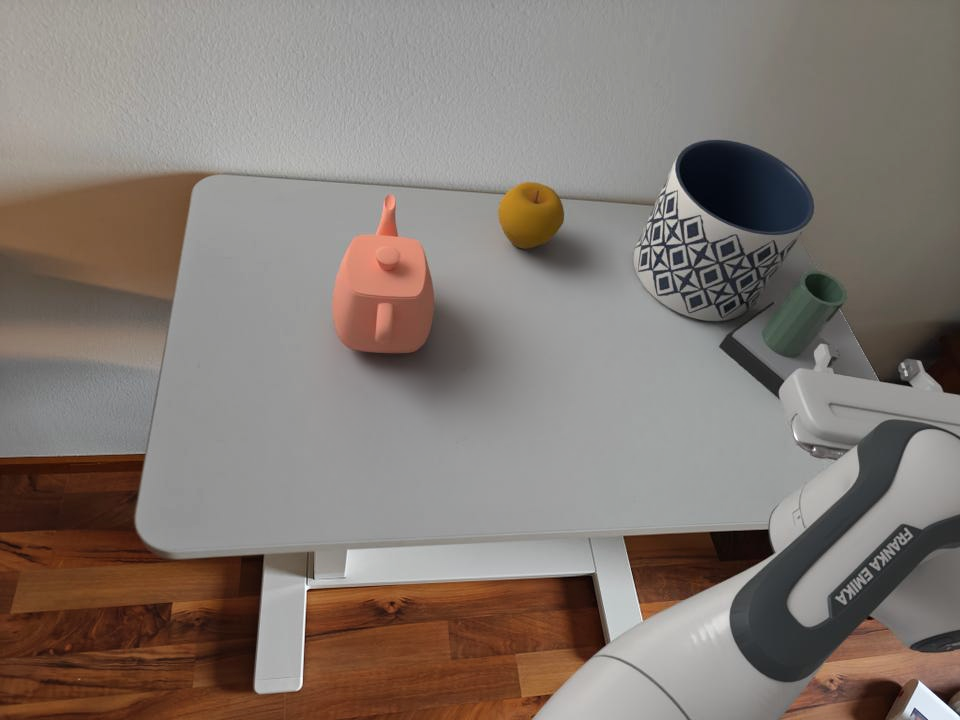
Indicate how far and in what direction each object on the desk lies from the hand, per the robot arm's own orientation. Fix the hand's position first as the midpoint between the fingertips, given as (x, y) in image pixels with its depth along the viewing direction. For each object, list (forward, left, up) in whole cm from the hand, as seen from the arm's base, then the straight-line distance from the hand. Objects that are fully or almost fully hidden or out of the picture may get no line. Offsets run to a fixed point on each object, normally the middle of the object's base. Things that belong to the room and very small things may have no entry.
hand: (866, 355), depth 77 cm
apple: (+43, +6, -16) cm, 46 cm away
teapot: (+42, +31, -16) cm, 54 cm away
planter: (+25, -11, -16) cm, 31 cm away
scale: (+9, -9, -16) cm, 20 cm away
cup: (+9, -8, -13) cm, 18 cm away
